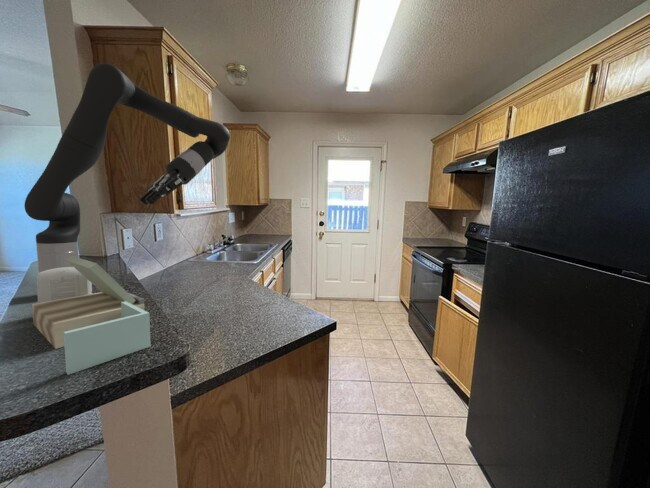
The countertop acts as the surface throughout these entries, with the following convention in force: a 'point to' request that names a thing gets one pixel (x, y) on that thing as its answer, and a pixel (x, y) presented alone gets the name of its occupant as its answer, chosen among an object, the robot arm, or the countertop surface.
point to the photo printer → (61, 284)
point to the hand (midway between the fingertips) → (145, 202)
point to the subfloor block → (76, 314)
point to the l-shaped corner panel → (107, 339)
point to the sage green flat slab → (100, 279)
